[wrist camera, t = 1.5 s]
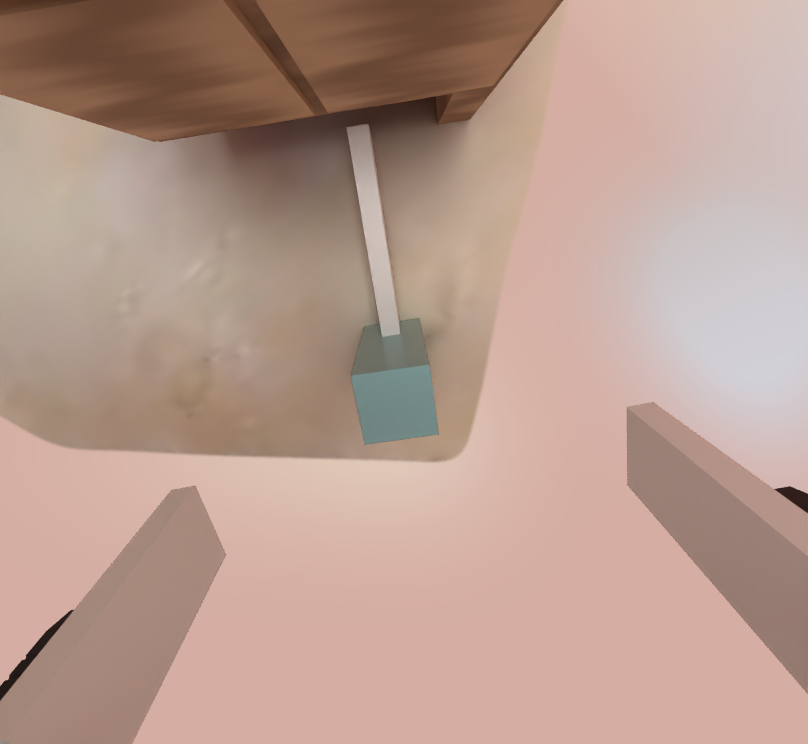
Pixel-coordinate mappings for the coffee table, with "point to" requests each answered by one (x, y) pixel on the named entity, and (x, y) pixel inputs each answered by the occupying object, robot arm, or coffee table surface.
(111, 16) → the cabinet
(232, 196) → the coffee table surface
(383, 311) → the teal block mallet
